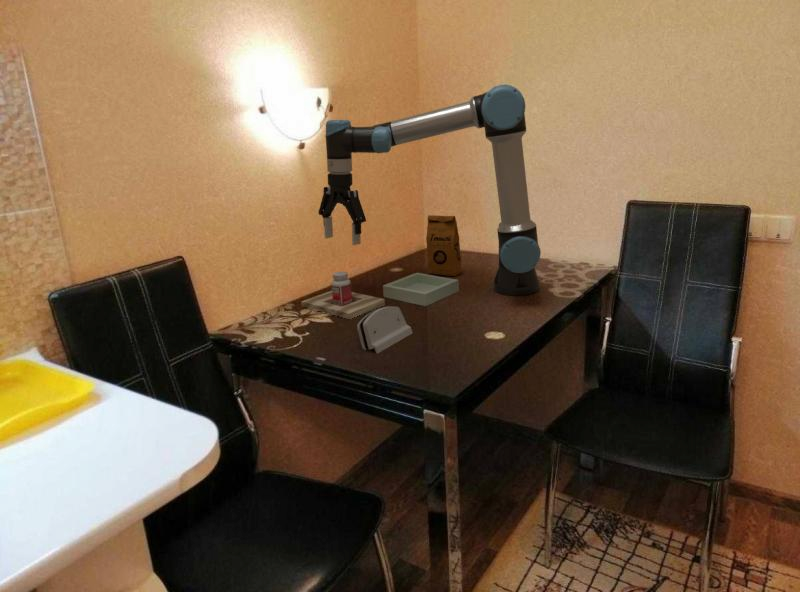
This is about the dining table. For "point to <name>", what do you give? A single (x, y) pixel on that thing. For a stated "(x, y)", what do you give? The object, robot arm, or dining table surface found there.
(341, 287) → the pill bottle
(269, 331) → the dining table surface
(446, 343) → the dining table surface
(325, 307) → the socket block
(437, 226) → the coffee package
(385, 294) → the tray
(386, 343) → the napkin holder
